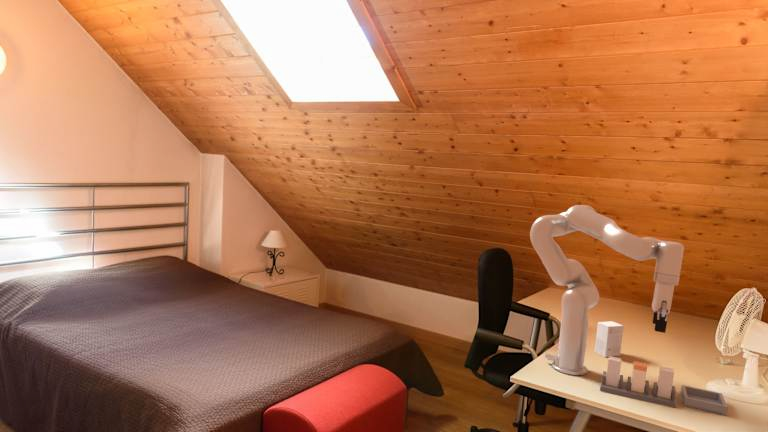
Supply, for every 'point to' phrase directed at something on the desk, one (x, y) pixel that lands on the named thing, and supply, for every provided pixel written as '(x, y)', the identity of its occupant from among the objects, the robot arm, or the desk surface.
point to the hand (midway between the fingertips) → (658, 327)
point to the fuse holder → (657, 394)
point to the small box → (608, 339)
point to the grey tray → (703, 400)
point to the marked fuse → (638, 376)
